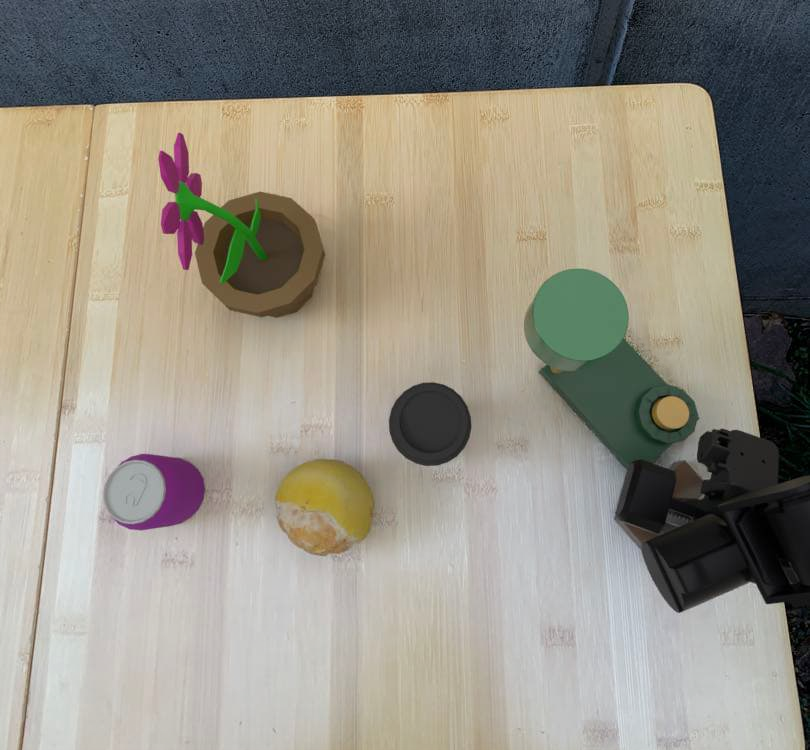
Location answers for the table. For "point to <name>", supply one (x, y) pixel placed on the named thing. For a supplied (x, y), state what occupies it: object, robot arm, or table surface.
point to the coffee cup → (430, 424)
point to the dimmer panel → (684, 488)
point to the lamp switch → (670, 413)
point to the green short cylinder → (576, 319)
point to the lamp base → (622, 404)
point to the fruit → (325, 506)
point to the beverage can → (153, 492)
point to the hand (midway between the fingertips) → (686, 518)
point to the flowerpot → (243, 242)
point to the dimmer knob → (689, 501)
